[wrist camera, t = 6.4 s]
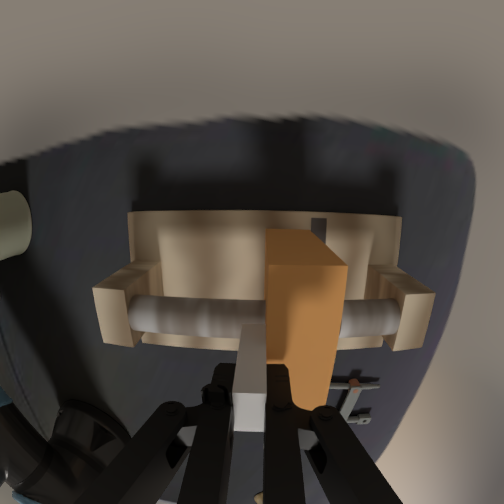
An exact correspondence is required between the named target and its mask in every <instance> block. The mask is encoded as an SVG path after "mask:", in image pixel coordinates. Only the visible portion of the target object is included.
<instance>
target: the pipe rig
mask: <svg viewBox="0 0 504 504" xmlns="http://www.w3.org/2000/svg"><path fill="white" fill-rule="evenodd" d="M401 224H402V217H399V216H387V215H372V214H354V213H334V212H309V211H272V210H170V211H135V212H128V230H129V245H130V257H131V263H130V264H128V265H127V266H125V267H123V268H122V269H120V270H119V271H117V272H116V273H114V274H112V275H111V276H109V277H108V278H106V279H105V280H103V281H102V282H100V283H99V284H97V285H96V286H94V287H93V294H94V300H95V305H96V310H97V315H98V320H99V324H100V329H101V333H102V337H103V341H104V343H110V344H115V345H122V346H128V347H135V345H136V344H137V343H138V341H139V340H140V338H141V337H142V343H150V344H158V345H167V346H177V347H188V348H201V349H216V350H237V351H238V348H239V341H240V335H241V328H242V324H265V314H266V300H264V278H265V230H266V229H301V230H310V231H311V232H312V233H314V234H315V235H316V236H317V237H318V238H319V239H320V240H321V241H322V242H323V243H324V244H326V245H327V246H328V247H329V248H330V249H331V250H332V251H333V252H334V253H335V254H336V255H337V256H338V257H339V258H340V259H342V260H343V261H344V262H345V263H346V264H347V265H348V272H347V281H346V290H345V298H344V305H343V313H342V320H341V326H340V333H339V339H338V345H337V350H343V349H358V348H370V347H381V346H382V343H383V338H384V340H385V341H386V342H387V344H388V345H389V347H390V348H391V349H392V351H398V350H406V349H413V348H420V347H422V344H423V341H424V338H425V334H426V330H427V327H428V323H429V319H430V315H431V311H432V307H433V303H434V298H435V292H433V291H432V290H430V289H429V288H428V287H426V286H425V285H423V284H422V283H420V282H419V281H417V280H416V279H414V278H413V277H411V276H410V275H408V274H407V273H405V272H404V271H402V270H401V269H399V268H398V267H397V262H398V254H399V245H400V235H401Z"/></svg>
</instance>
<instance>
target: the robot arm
mask: <svg viewBox="0 0 504 504" xmlns="http://www.w3.org/2000/svg"><path fill="white" fill-rule="evenodd" d="M201 395H202V402H203V403H202V404H200V405H198V406H194V407H186V408H185V406H184V405H183V404H181V403H179V402H176V401H168V402H165V403H163V404H161V405H160V406H159V407H158V408H157V409H156V411H155V412H154V413H153V414H152V415H151V416H150V418H149V419H148V420H147V421H146V422H145V423H144V425H143V426H142V427H141V428H140V429H139V430H138V432H137V433H136V434H135V435H134V436H133V437H132V439H131V438H130V436H129V435H128V434H127V432H126V431H125V430H124V429H123V428H122V427H121V426H120V425H119V424H118V423H117V422H116V421H114V420H113V419H112V418H111V417H109V416H108V415H106V414H105V413H104V412H102V411H100V410H99V409H97V408H95V407H93V406H91V405H89V404H86V403H84V402H81V401H76V400H69V401H66V402H65V403H64V404H63V405H62V407H61V408H60V409H59V411H58V413H57V418H56V421H55V425H54V429H53V433H52V437H51V438H50V440H49V441H48V442H47V441H46V440H45V439H44V438H43V437H42V436H41V435H40V434H39V433H38V432H37V430H36V429H35V428H34V427H33V426H32V425H31V424H30V423H29V422H28V420H27V419H26V418H25V417H24V416H23V414H22V413H21V412H20V411H19V410H18V408H17V407H16V406H15V404H14V403H13V400H12V399H11V398H9V396H8V395H7V394H6V393H5V391H4V390H3V389H2V388H1V386H0V486H1V485H2V484H3V483H4V482H6V483H7V484H8V485H9V486H10V487H12V488H13V489H14V491H12V493H13V494H12V497H13V498H14V499H15V500H16V501H17V502H19V503H20V504H156V502H157V501H158V500H159V498H160V497H161V495H162V494H163V492H164V491H165V489H166V488H167V486H168V485H169V483H170V482H171V480H172V479H173V477H174V476H175V474H176V472H177V471H178V469H179V468H180V466H181V465H182V463H183V461H184V460H185V458H186V457H187V455H188V454H189V452H190V454H189V458H188V462H187V466H186V470H185V474H184V478H183V482H182V486H181V490H180V494H179V498H178V502H177V504H226V500H227V492H228V483H229V475H230V466H231V457H232V449H233V440H234V437H233V431H254V432H264V445H263V448H264V461H263V504H306V503H305V493H304V482H303V473H302V463H301V454H300V449H304V451H305V453H306V455H307V458H308V460H309V462H310V464H311V466H312V468H313V470H314V472H315V474H316V476H317V478H318V480H319V482H320V484H321V486H322V488H323V490H324V492H325V494H326V496H327V498H328V500H329V502H330V504H403V503H402V502H401V500H400V499H399V497H398V496H397V495H396V493H395V492H394V491H393V489H392V488H391V486H390V485H389V483H388V482H387V480H386V479H385V478H384V476H383V475H382V473H381V472H380V470H379V469H378V467H377V466H376V465H375V463H374V462H373V460H372V459H371V457H370V456H369V454H368V453H367V452H366V450H365V449H364V447H363V446H362V444H361V443H360V441H359V440H358V438H357V437H356V435H355V434H354V433H353V431H352V430H351V428H350V427H349V425H348V424H347V422H346V421H345V419H344V418H343V416H342V415H341V413H340V412H339V411H338V410H337V409H336V408H334V407H332V406H328V405H322V406H318V407H316V408H315V409H313V410H312V411H310V410H305V409H302V408H300V407H298V406H296V405H295V404H294V402H293V400H292V394H291V386H290V377H289V369H288V368H287V367H286V366H285V364H266V324H242V328H241V335H240V341H239V348H238V355H237V362H236V364H233V363H219V364H218V365H217V366H216V367H215V370H214V374H213V377H212V381H211V384H207V385H206V386H204V387H203V388H202V390H201Z"/></svg>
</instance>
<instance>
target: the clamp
mask: <svg viewBox="0 0 504 504" xmlns="http://www.w3.org/2000/svg"><path fill="white" fill-rule="evenodd" d="M334 362H336V358H335V361H334ZM379 387H380V384H371V383H359V382H358V380H357V379H351V380H349V382H348V383H330V386H329V389H348V393H347V396H346V398H345V400H344V402H343V404H342V407H341V409H340V411H339V412H340V413H341V415H342V416H343V418H344V419H345V421H346V422H347V423H353V422H355V423H356V424H368V423H369V422H370V420H371V416H370V414H358V416H349V415H350V413H351V411H352V409H353V407H354V405H355V403H356V401H357V399H358V397H359V395H360V392H361V390H362V389H372V388H379Z"/></svg>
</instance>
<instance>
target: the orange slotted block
mask: <svg viewBox="0 0 504 504" xmlns="http://www.w3.org/2000/svg"><path fill="white" fill-rule="evenodd" d="M347 272H348V265H347V264H346V263H345V262H344V261H343V260H342V259H340V258H339V257H338V256H337V255H336V254H335V253H334V252H333V251H332V250H331V249H330V248H329V247H328V246H327V245H326V244H324V243H323V242H322V241H321V240H320V239H319V238H318V237H317V236H316V235H315V234H314V233H312V232H311V231H310V230H301V229H266V230H265V278H264V300H266V314H265V324H266V364H285V366H286V367H287V368H288V369H289V377H290V386H291V394H292V400H293V402H294V404H295V405H296V406H298V407H300V408H302V409H305V410H310V411H312V410H313V409H315V408H316V407H318V406H322V405H325V404H326V400H327V395H328V391H329V386H330V381H331V376H332V371H333V366H334V361H335V356H336V350H337V345H338V339H339V333H340V326H341V320H342V313H343V305H344V298H345V290H346V281H347Z"/></svg>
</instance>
